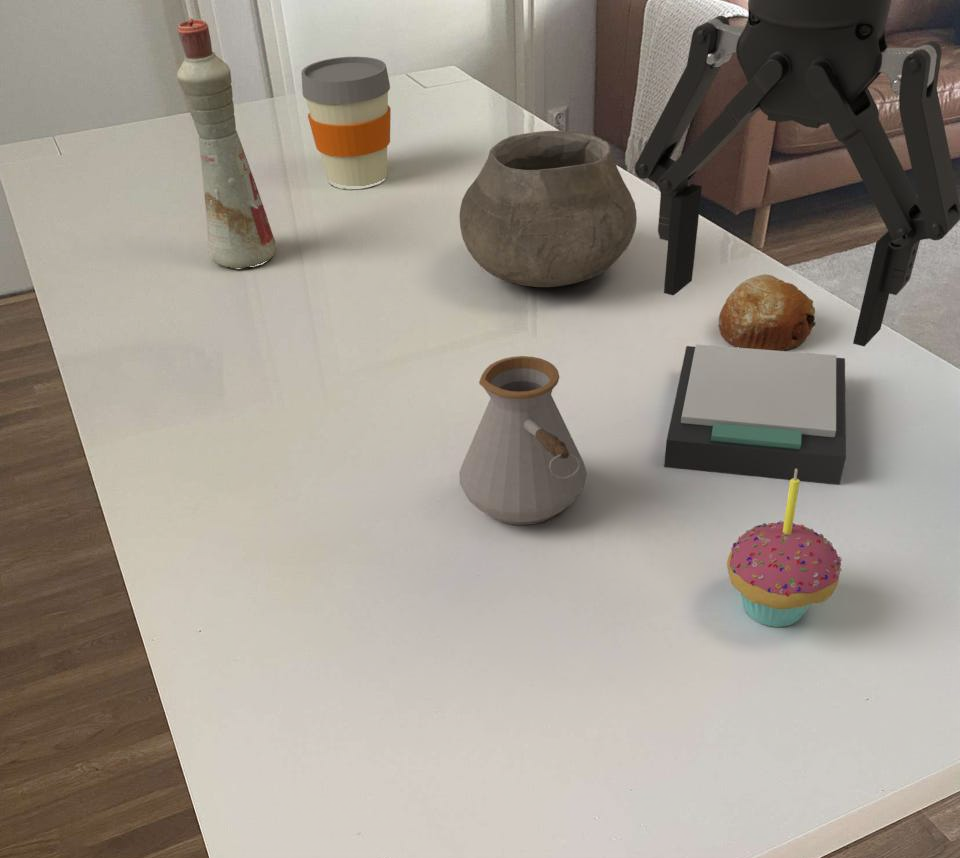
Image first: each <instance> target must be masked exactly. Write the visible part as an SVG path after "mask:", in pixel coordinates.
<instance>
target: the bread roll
mask: <svg viewBox="0 0 960 858" xmlns="http://www.w3.org/2000/svg"><path fill="white" fill-rule="evenodd" d="M813 303H814V300H812V299H811V298H810V297H808V296H807V294H806V293H804V292H803V291H802V290H801V289H799V288H798V286H796V285H795V284H793V283H789V282H785V281H784V280H781V279H780V278H778V277H776V276H774V275H772V274H767V273H763V274H759V275H755V276H752V277H750V278H748V279H746V280H745V281H742V282H741V283H739V285H738V286H737V287H735V289H734V290H733V291H732V292H731V293H730V294H729V295H728V297H727V298H726V300H725V303H724V304H723V305H722V308H721V309H720V312H719V315H718V329H719V332H720V336H721V337H722V338H723V340H724V341H725V342H726V343H727V342H728V343H727V344H730V345H732V346H733V347H736V348H738V347H739V348H749V349H762V350H775V351H787V350H791V349H794V348H796V347H798V346H800V345H801V344H802V343H803V342H805V340H807V338H808V336H809V335H810V334H811V332H812V330H813V328H814V327H815V326H816V321H815V319H816V317H815V314H816V309H815V307H814V304H813ZM793 347H794V348H793Z"/></svg>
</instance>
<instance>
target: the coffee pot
mask: <svg viewBox="0 0 960 858" xmlns="http://www.w3.org/2000/svg"><path fill="white" fill-rule="evenodd" d="M559 380H560V372H559V370H558V369H557V367H556V366H555V365H554V364H553V363H552V362H550V361H548V360H546V359H543V358H541V357H536V356H525V355H520V356H519V355H518V356H509V357H504V358H502V359H499V360H496V361H494V362H493V363H491V364H489V365H488V366H487V367H486V368H485V369H484V371H483V372H482V374H481V376H480V379H479V381H478V384H479V385H480V386H481V387H482V388H483V389H484V390H485V392H486V393H487V395H488V396H489V401H488V403H487V406H486V408H485V410H484V413H483V415H482V417H481V419H480V422H479V424H478V426H477V429H476V431H475V433H474V436H473V438H472V440H471V443H470V444H469V448H468V450H467V452H466V455H465V457H464V459H463V461H462V464H461V467H460V470H459V485H460V487H461V489H462V491H463V494H464V495H465V496H466V498H467V499H468V501H469V502H470V503H472V505H473V506H474V507H475V508H476V509H478V510H479V511H481V512H483V513H485V514H486V515H488V516H490V517H491V518H493V519H494V520H497V521H499V522H502V523H505V524H509V525H518V526H525V525H534V524H535V525H536V524H538V523H543V522H545V521H547V520H549V519H552V518H554V517H555V516H556V515H558V514H560V513H561V512H563V511H564V510H565V509H567V508H568V507H569V506H571V505H572V504H573V503H574V502H575V501H576V500H577V498H578V497H579V495H580V494H581V492H582V491H583V488H584V487H585V482H586V478H587V471H586V467H585V462H584V460H583V457H582V456H581V453H580V451H579V449H578V447H577V445H576V443H575V441H574V439H573V436H572V435H571V433H570V430H569V428H568V427H567V425H566V422H565V420H564V418H563V416H562V414H561V413H560V410H559V408H558V406H557V403H556V402H555V400H554V398H553V396H552V393H553V389H555V387H556V386H557V385H558V383H559Z"/></svg>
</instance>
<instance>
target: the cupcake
mask: <svg viewBox="0 0 960 858" xmlns="http://www.w3.org/2000/svg"><path fill="white" fill-rule="evenodd" d="M797 472H798V470H797V469H795V473H794V478H793V479H791V480H790V479H789V487H788V494H787V501H786V506H785V514H784V519H783V520H778V521H777V522H769V523H766V522H764V523H762V524H758V525H754V526H753V527H752V528H750V529H747V530H746V531H745V533H743V534H742V535H741V536H738V539H736V541H735V542H733V543H732V547H731V548H730V549H731V550H730V552H729V555H728V558H727V560H726V567H727V572H728V575H729V580H730V583H731V585H732V586H733V587H734V588H735V589H736V590H737V591H738V592H739V593H740V597H741V601H742V606H743V610H744V611H745V612H746V614H747V615H748V617H749V618H751V619H752V620H753V621H755V622H757V623H758V624H760V625H763V626H768V627H774V628H781V627H783V628H784V627H787V626H792V625H793V624H796V623H797V622H799V621H800V620H801V619H802V617H803V616H804V615H805V613H806V612H807V610H808V609H809V607H810V606H811V605H812V604H821V603H823V602H825V601H826V600H827V599H829V598H830V597H832V595H833V594H834V592H835V591H836V589H837V586H838V584H839V580H840V573H841V572H842V568H841V566H842V560H843V558H842V556H839V555H838V553H837V549H835V547H833V542H831V541H830V540H828V539H827V538H826V537H824V535H823V533H819V532H817V531H815V530H814V528H810V527H807V526H805V524H796V523H795V522H794V519H795V513H796V506H797V501H798V494H799V488H800V480H799V479H797Z"/></svg>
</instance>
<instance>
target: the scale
mask: <svg viewBox="0 0 960 858" xmlns="http://www.w3.org/2000/svg"><path fill="white" fill-rule="evenodd" d="M682 360H683V361H682V364H681V365H682V366H681V370H680V375H679V379H678V383H677V389H676V394H675V399H674V403H673V408H672V411H671V412H672V413H671V416H670V417H671V418H670V422H669V427H668V432H667V437H666V443H665V452H664V460H663V462H664V463H663V467H665V468H674V469H682V470H683V469H685V470H693V471H694V470H695V471H702V472H712V473H713V472H714V473H721V474H733V475H743V476H751V477H762V478H771V479H781V480H789V481H790V480H791V479H793V478H794V473H795V469H797V470H798V472H797V479H799V482H810V483H820V484H822V483H823V484H829V485H840V483H841V479H842V476H843V471H844V468H845V464H846V459H847V426H846V425H847V422H846V421H847V420H846V419H847V418H846V416H847V415H846V413H847V412H846V410H847V409H846V406H847V405H846V358H844V357H837V355H836V354H825V353H812V352H800V351H799V352H797V351H787V350H783V351H775V350H762V349H749V348H738V347H736V346H721V345H711V344H709V345H708V344H695V346H692V345H687V346H685V352H684V355H683V359H682Z"/></svg>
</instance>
